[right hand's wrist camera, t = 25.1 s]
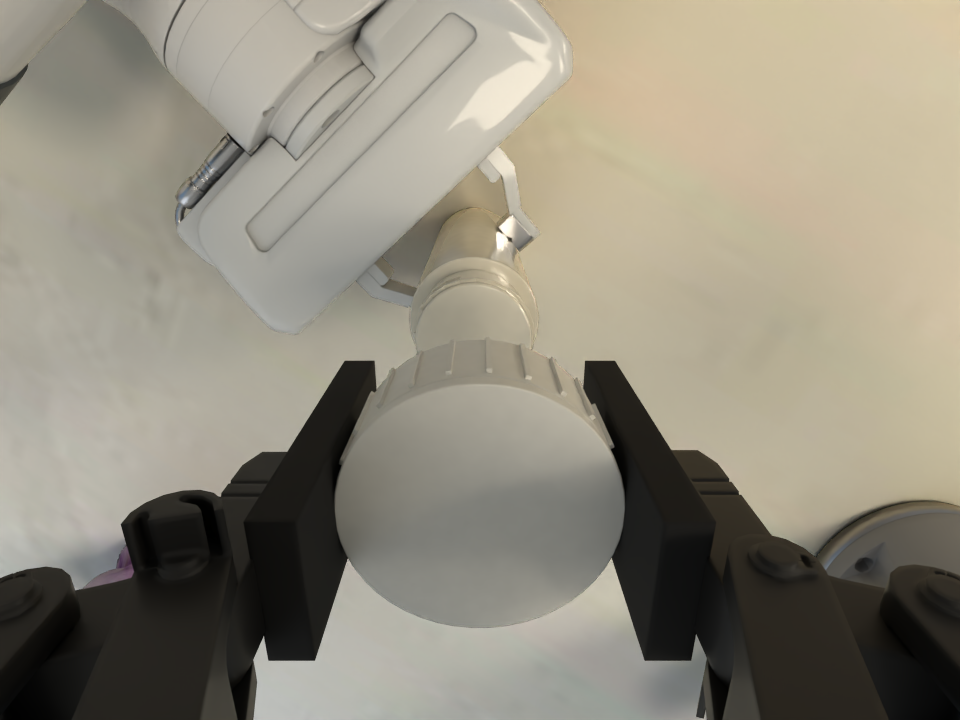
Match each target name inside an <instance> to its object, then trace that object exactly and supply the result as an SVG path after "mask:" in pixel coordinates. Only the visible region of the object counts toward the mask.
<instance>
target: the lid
mask: <svg viewBox="0 0 960 720" xmlns="http://www.w3.org/2000/svg"><path fill="white" fill-rule="evenodd" d="M612 448H614V444H613V442H612V440H611V438H610V436H609V433H608V431H607V429H606V427H605V424H604V422H603V420H602V418H601V416H600V413H599V411H598V409H597V407H596V405H595V403H594V404H592V405H591V403H590V401H589V399H588V398H587V396H586V394H585V392H584V389H583V387H582V385H581V382H580V380H579V379H578V378H576V379H575V380H574V379H573V378H572V377H571V376H570V375H569V374H568V373H567V372H566V371H565V370H564V369H563V368H561V367H560V366H559V365H557V362H556V360H555V359H554V358H552V357H551V358H550V359H549V358H547V357H545V356H543V355H541V354H539V353H538V352H536V351H533V350H530V349H528V348H525V344H522V343H520V345H516V344H512V343H508V342H503V341H494V340H491V338H490V337H485V340H465V341H457V342H456V341H455V339H454V340H450V343H448V344H444V345H440V346H436V347H434V348H431V349H429V350H426V351H424V352H423V351H422V350H420V351H418V352H417V354H416V356H414V357H413V358H411V359H409V360H407V361H406V362H405V363H403V364H402V365H401V366H399V367H398V368H397V369H394V368H392V369H391V370H390V371H389V374H388V376H387V378H386V379H385V380H384V381H383V382H382V384H381V385H380V386H379V388H378V389H377V390H376V392H375V393H374V392H372V391H371V393H370V394H369V396H368V399H367V401H366V403H365V405H364V408H363V410H362V412H361V414H360V417H359V419H358V421H357V423H356V425H355V427H354V429H353V432H352V434H351V436H350V438H349V441H348V443H347V445H346V447H345V450H344V452H343V454H342V456H341V458H340V461H339V464H340V465H342V466H341V469H340V471H339V474H338V477H337V482H336V487H335V492H334V508H335V517H336V526H337V532H338V535H339V539H340V542H341V544H342V547H343V549H344V551H345V553H346V556H347V557H348V559H349V560H350V562H351V564H352V565H353V567H354V568H355V570H356V571H357V572H358V573H359V575H360V576H361V577H362V578H363V579H364V581H365V582H366V583H367V584H368V585H369V586H370V587H372V588H373V589H374V590H375V591H376V592H377V593H378V594H380V595H381V596H382V597H384V598H385V599H386V600H388V601H389V602H390V603H392V604H394V605H396V606H397V607H399V608H401V609H403V610H404V611H407V612H409V613H411V614H414V615H416V616H418V617H420V618H424V619H427V620H430V621H433V622H436V623H441V624H446V625H451V626H458V627H468V628H492V627H501V626H509V625H513V624H518V623H523V622H526V621H529V620H533V619H536V618H539V617H541V616H544V615H546V614H548V613H550V612H553V611H555V610H557V609H558V608H560V607H562V606H564V605H565V604H567V603H569V602H570V601H572V600H573V599H574V598H576V597H577V596H578V595H580V594H581V593H582V592H584V591H585V590H586V589H587V588H588V587H589V586H590V585H591V584H592V583H593V582H594V581H595V580H596V579H597V577H598V576H599V575H600V574H601V573H602V571H603V570H604V569H605V567H606V566H607V564H608V563H609V561H610V559H611V558H612V556H613V554H614V552H615V550H616V547H617V545H618V543H619V540H620V537H621V533H622V529H623V522H624V513H625V490H624V485H623V481H622V476H621V473H620V471H619V468H618V465H617V463H616V460H615V458H614V455H613V453H612V451H611V449H612Z"/></svg>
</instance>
